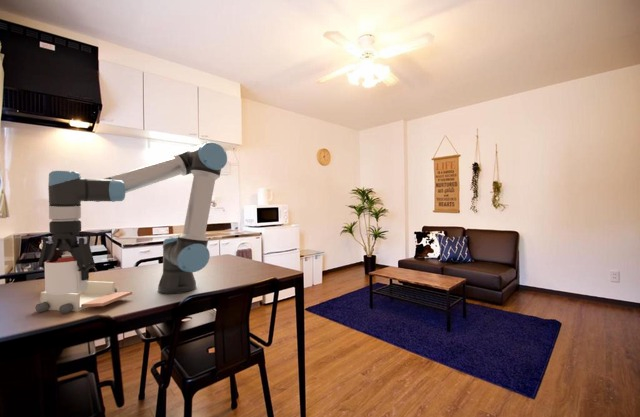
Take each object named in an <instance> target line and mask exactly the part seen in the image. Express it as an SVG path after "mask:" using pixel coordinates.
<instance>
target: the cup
mask: <svg viewBox="0 0 640 417" xmlns="http://www.w3.org/2000/svg"><path fill="white" fill-rule="evenodd" d="M44 263H45V270H44V288H45V289H44V291H46V293H48V294H51V295H61V294H68V293H73V292H77V271H78V270H79V267H78V266H77V261H75V260H74V258H73V257H66V258H62V257H59V258H58V260H57V261H56V262H52V263H51V262H50V260H48V261H45V262H44ZM83 266H84V265H83Z"/></svg>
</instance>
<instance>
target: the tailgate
mask: <svg viewBox="0 0 640 417" xmlns="http://www.w3.org/2000/svg"><path fill="white" fill-rule="evenodd" d="M131 295H133V291H117V292H115V293H111V294H108V295H105V296H103V297H100V298H97V299H94V300H92V301H89V302H86V303H84V304H82V305H81V306H82V307H88V308H91V307H105V306H106V305H109V304H111V303H114V302H117V301H119V300H122V299H123V298H126V297H129V296H131Z"/></svg>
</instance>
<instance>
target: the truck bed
mask: <svg viewBox="0 0 640 417" xmlns="http://www.w3.org/2000/svg"><path fill="white" fill-rule="evenodd" d="M115 286H116V282H115V281H101V280H99V281H93V280H88V281H87V288H88V289H86V290H83V291H80V292H73V293H68V294H61V295H51V294H48V293H46V291H45V290H43V291H41V292H40V302H39V303H37V304H36V305H35V311H36V312H37V313H43V312H46V311H58V312H59V313H60V314H61V315H66V314H68V313H71V312H79V311H82V310H85V309H87V308H89V307H82V306H81V305H82V304H84V303H86V302H89V301H92V300H94V299H97V298H100V297H103V296H105V295H108V294H111V293H115V292H118V289H117V288H116V287H115Z"/></svg>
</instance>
